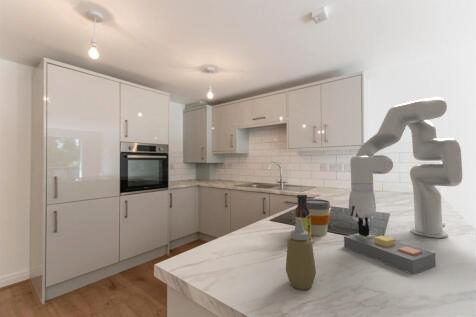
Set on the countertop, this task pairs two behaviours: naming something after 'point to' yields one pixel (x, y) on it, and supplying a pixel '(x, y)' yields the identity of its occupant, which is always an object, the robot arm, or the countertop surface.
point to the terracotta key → (410, 251)
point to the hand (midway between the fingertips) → (363, 234)
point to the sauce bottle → (303, 213)
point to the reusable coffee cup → (319, 216)
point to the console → (392, 254)
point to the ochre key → (384, 241)
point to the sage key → (363, 237)
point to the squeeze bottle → (300, 258)
